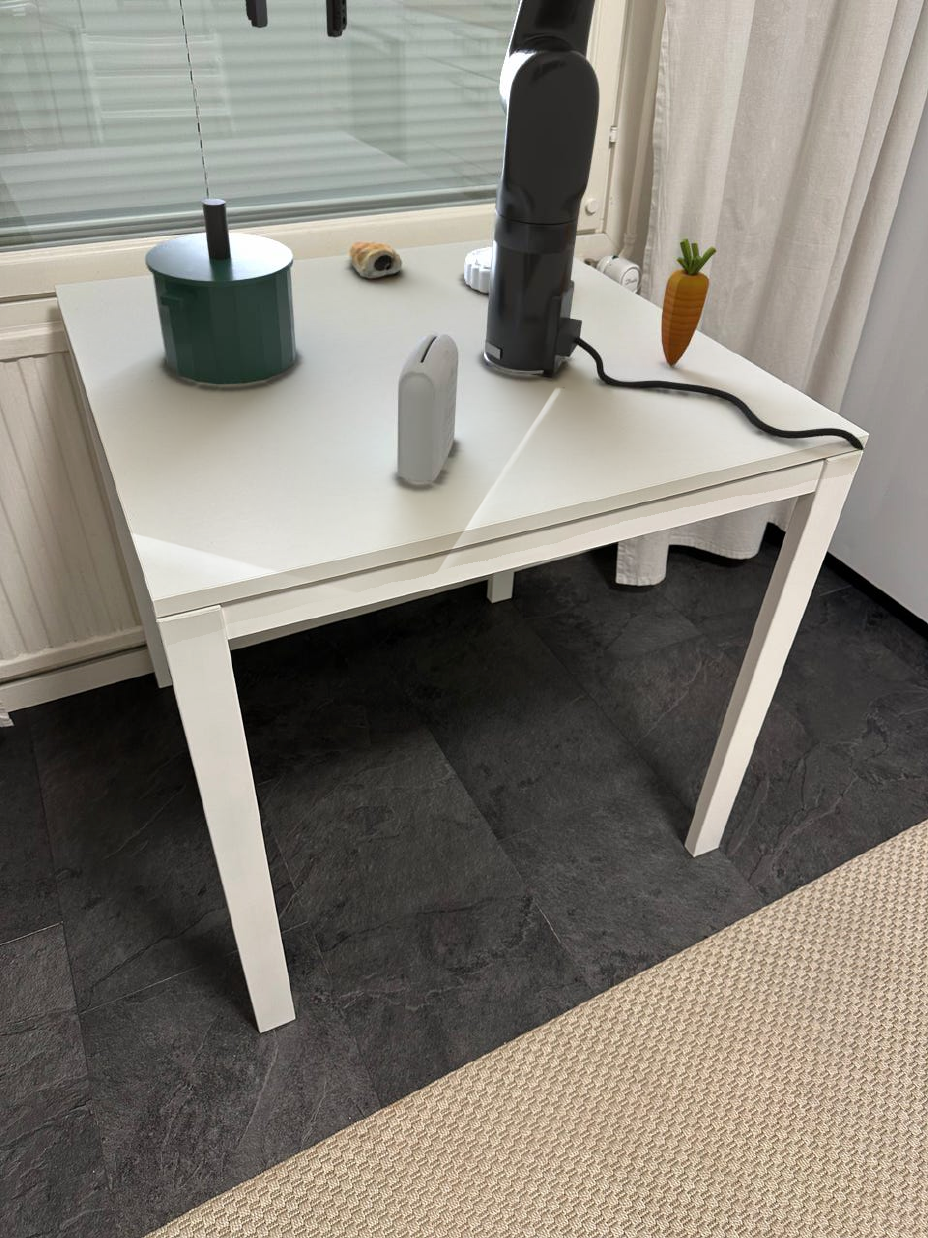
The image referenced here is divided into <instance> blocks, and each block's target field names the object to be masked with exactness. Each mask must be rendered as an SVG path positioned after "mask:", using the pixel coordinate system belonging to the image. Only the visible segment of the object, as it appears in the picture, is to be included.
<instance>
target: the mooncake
mask: <svg viewBox="0 0 928 1238" xmlns="http://www.w3.org/2000/svg"><path fill="white" fill-rule="evenodd" d="M491 259H492V246H488V247H482V248H478V249H474V250H473V251H471V252H469V253H467V254H466V257H465V259H464V269H463V270H464V272H463V273H464V274H463V279H464V280H465V284H466V285H467V286H470V288H471V289H473V290H474V291H475V290H476V291H478V292H480V293H482V294H489V287H490V273H491Z"/></svg>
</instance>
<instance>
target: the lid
mask: <svg viewBox="0 0 928 1238" xmlns="http://www.w3.org/2000/svg"><path fill="white" fill-rule="evenodd" d="M201 205H202V215H203V222H204V231H205V233H196V234H188V235H182V236H178V237H174V238H171V239H168V240H164V241H162V242H159V243H157V244H156V245H153V246H152V247H151V248H150V249H148V251H147V252H146V253H145V256H144V262H145V266H146V269H147V270H148V271H149V272H150V273H151V274H152V273H153V274H154V275H156V276H158V277H160V278H162V279H165V280H168V281H171V282H175V283H180V284H185V285H193V286H204V287H230V286H241V285H248V284H254V283H259V282H263V281H267V280H270V279H273V278H275V277H278V276H280V275H282V274H283V273H285V272H286V271H288V270H289V269H290V270H291V268H292V266H293V264H294V255H293V252H292V250H291V249H290V248H289V247H288V246H286V244H283V243H282V242H280V241H277V240H274V239H272V238H268V237H264V236H259V235H256V234H247V233H239V232H238V233H237V232H230V230H229V222H228V213H227V212H228V211H227V202H226V200H224V199H221V198H207V199H203V200H202V201H201Z"/></svg>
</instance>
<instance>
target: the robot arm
mask: <svg viewBox="0 0 928 1238" xmlns="http://www.w3.org/2000/svg"><path fill="white" fill-rule="evenodd" d="M347 3H348V0H325V16H326V34H327V37H328V38H339V37H342V35H343V33H344V32H343V31H345V30H346V29H347V25H348V12H347V11H348V5H347ZM595 4H596V0H520V3H519V7H518V11H517V13H516V18H515V22H514V26H513V29H512V32H511V33H512V34H511V37H510V41H509V45H508V48H507V51H506V55H505V58H504V62H503V66H502V69H501V74H500V78H499V79H500V80H499V99H500V104H501V108H502V110H503V113H504V115H505V117H506V123H505V124H506V127H505V139H504V150H503V161H502V171H501V175H500V178H499V180H498V182H497V185H496V189H495V190H496V191H495V205H494V206H495V207H494V219H493V230H492V231H493V233H492V246H491V247H492V259H491V273H490V287H489V293H488V301H487V302H488V304H487V317H486V318H487V319H486V330H485V331H486V333H485V341H484V343H485V344H484V350H483V361H484V362H485V364H486V365H487V366H488V367H491V368H495V369H498V370H501V371H503V372H507V373H511V374H516V375H517V374H519V375H531V376H537V377H548V378H553V377H555V374H556V373H557V371H558V370H559V369H560V368H561V366H562V364H563V362H564V361H565V359H566V358H570V357H571V356H572V354H573V353H574V351H575V349H576V348H577V347H580V348H581V349H582V350H584V351H585V352H587V353H588V354H589V356H590V357H592V358H593V360H594V362H595V365H596V372H597V376H598V378H599V379H600V380H601V381H602V382H604V383H605V384H607V385H609V386H613V387H618V388H619V387H620V388H629V389H651V388H652V389H653V388H654V389H655V388H656V389H657V388H658V389H667V390H674V391H684V392H691V393H692V392H693V393H698V394H699V393H700V394H703V395H704V394H705V395H708V396H709V395H710V396H714V397H716V398H720V399H722V400H725V401H727V402H730V403H731V404H733V405H734V406H736V407H737V409H739V410H740V411H741V412H742V413H743V415H744V416H745V418H747V420H748V421H749V422H750V423H751V424H752V425H753V426H754V427H756V428H757V429H759V430H760V431H761V432H764V433H765V434H768V435H770V436H773V437H777V438H780V439H791V440H797V439H809V438H818V437H838V438H841V439H843V440H845V441H847V442H848V443H850V445H851V446H852V447H853V448H855V449H858V450H864V445H863V444H862V442H861V440H860V439H859V438H858V437H856V436H855V435H854V434H853V433H852V432H849V431H848V430H845V429H841V428H834V427H823V428H814V429H813V428H812V429H805V430H803V429H802V430H785V429H781V428H780V429H779V428H777V427H774V426H771V425H769V424H767V423H766V422H764V421H762V419H760V418H759V417H758V416H757V415H756V414H755V412H753V411H752V409H751V408H750V406H748V405H747V404H746V402H744V401H743V400H742V399H741V398H740V397H738V396H736V395H734V394H731V393H729V392H727V391H724V390H722V389H718V388H715V387H710V386H705V385H699V384H692V383H685V382H675V381H668V380H657V379H655V380H638V381H622V380H618V379H615V378H612V377H611V376H610V375H608V374H607V373H606V372H605V367H604V361H603V358H602V356H601V355H600V353H599V352H598V351H597V350H596V349H595V348H594V347H593V346H592V345H591V344H589V343H588V342H586V341H585V340H584V339H583V338H581V331H582V326H583V320H581V319H577V318H572V317H571V316H572V315H571V314H572V308H573V307H572V306H573V300H574V291H575V281H574V280H572V274H573V273H572V272H573V266H574V265H573V264H574V257H575V249H576V243H577V242H576V241H577V232H578V226H579V225H578V224H579V218H580V211H581V204H582V200H583V197H584V195H585V194H586V190H587V188H588V185H589V180H590V175H591V169H592V168H591V167H592V161H593V155H594V148H595V143H596V136H597V135H596V134H597V129H598V123H599V114H600V113H599V112H600V100H601V99H600V98H601V97H600V96H601V95H600V84H599V81H598V80H599V79H598V76H597V73H596V71H595V69H594V67H593V66H592V63H590V61H589V60H588V59H587V53H588V46H589V38H590V33H591V26H592V22H593V21H592V20H593V15H594V9H595ZM245 12H246V16H247V17H246V18H247V19H248V21H250V23H251V26H252V28H255V29H263V28H266V27H267V26H268V23H269V20H268V5H267V0H245Z"/></svg>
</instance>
